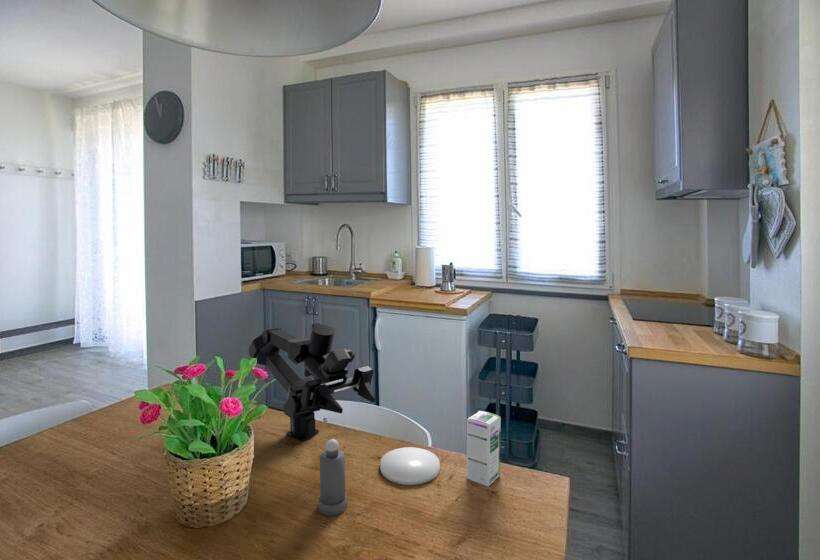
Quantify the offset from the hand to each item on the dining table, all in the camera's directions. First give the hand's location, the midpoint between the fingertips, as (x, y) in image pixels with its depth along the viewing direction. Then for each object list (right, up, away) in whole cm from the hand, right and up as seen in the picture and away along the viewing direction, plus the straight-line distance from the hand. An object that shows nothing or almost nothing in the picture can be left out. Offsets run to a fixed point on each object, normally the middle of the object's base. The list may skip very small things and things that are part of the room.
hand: (358, 405), depth 99 cm
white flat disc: (+12, -16, +4) cm, 20 cm away
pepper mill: (-4, -17, -11) cm, 21 cm away
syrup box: (+28, -17, 0) cm, 33 cm away
